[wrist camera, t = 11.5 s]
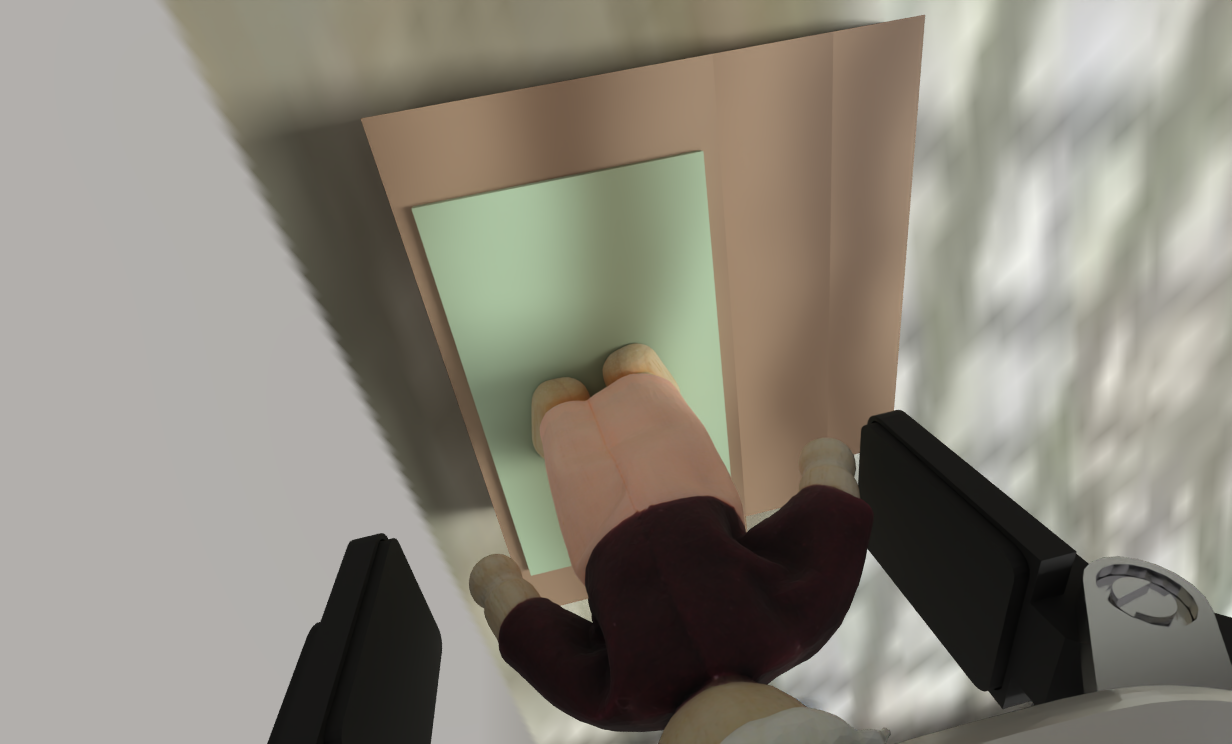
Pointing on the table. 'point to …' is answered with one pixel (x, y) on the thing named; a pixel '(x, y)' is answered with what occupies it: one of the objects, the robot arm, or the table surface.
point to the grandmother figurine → (678, 571)
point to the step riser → (668, 252)
